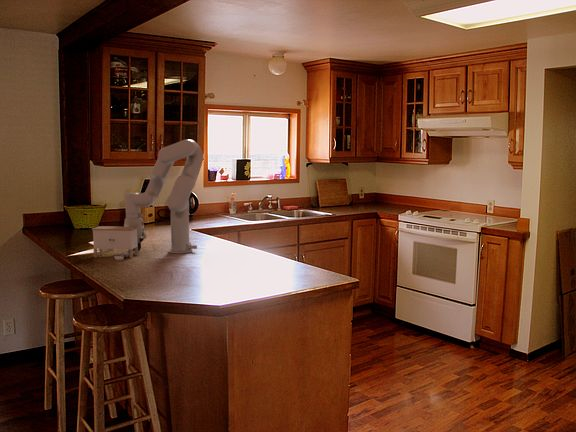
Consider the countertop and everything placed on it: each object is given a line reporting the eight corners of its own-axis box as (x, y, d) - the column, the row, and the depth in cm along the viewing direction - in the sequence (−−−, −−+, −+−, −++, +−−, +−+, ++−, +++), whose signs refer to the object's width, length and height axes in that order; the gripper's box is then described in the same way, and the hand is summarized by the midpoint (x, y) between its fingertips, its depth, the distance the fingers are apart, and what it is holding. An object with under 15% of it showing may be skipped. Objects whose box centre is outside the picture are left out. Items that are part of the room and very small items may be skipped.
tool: (139, 250, 307) (139, 237, 306) (127, 256, 290) (126, 243, 289) (132, 250, 307) (132, 237, 306) (119, 256, 291) (119, 243, 290)
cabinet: (138, 255, 297) (138, 226, 295) (131, 258, 288) (131, 229, 286) (100, 254, 299) (99, 226, 298) (92, 257, 290) (91, 228, 288)
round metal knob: (125, 259, 287) (125, 255, 287) (121, 261, 283) (121, 257, 283) (116, 259, 288) (116, 255, 288) (113, 260, 283) (113, 256, 283)
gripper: (151, 215, 306) (152, 249, 308) (120, 215, 307) (122, 248, 310) (146, 217, 298) (147, 251, 300) (115, 216, 300) (116, 251, 302)
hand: (134, 249), depth 305 cm, fingers closed on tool, 4 cm apart
